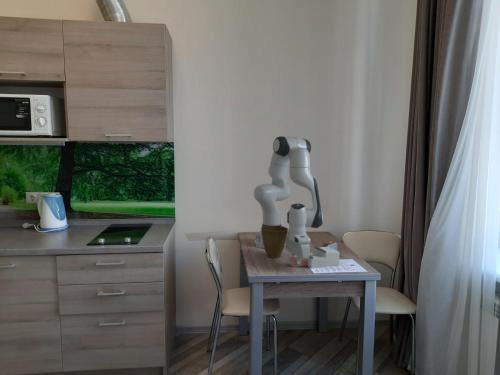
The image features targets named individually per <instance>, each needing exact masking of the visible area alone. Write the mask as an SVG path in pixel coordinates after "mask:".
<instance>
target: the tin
mask: <svg viewBox="0 0 500 375" xmlns="http://www.w3.org/2000/svg"><path fill="white" fill-rule="evenodd" d="M321 247H330V248H332V249H334V250H336V251H338V248H339V243H338V241H337V240H333V239H331V240H328V241H325V242H324V243H323V244H322V246H321Z"/></svg>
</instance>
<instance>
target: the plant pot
mask: <svg viewBox="0 0 500 375" xmlns="http://www.w3.org/2000/svg"><path fill="white" fill-rule="evenodd" d="M260 231H261V232H262V239H263V243H264V248H263V249H264V251H265V253H266V256H267V257H268V258H270V259H278V258H280V257H281V255H282V254H283V251H284V248H285V246H286V245H285V244H286V238H287V236H288V232H289V227H286V226H282V225H281V226H263V227H262V226H261V227H260ZM284 245H285V246H284Z"/></svg>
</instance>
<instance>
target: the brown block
mask: <svg viewBox="0 0 500 375" xmlns="http://www.w3.org/2000/svg"><path fill="white" fill-rule="evenodd" d="M312 256H315V255H312ZM296 260H297V257H293V256H292V257H291V262H290V263H291V264H290V266H291V267H292V268H296V267H305V266H306V267H308V259H301V260H300V264H297V263H296Z"/></svg>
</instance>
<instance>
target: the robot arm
mask: <svg viewBox="0 0 500 375" xmlns="http://www.w3.org/2000/svg"><path fill="white" fill-rule="evenodd" d="M272 150H273V154H272V155H271V159H270V163H269V167H268V172H267V174H268V175H269V177H270V178H271V183H264V184H259V185H256V186H255V188H254V189H253V197H254V200H255V201H257V202H258V204H259V205H260V208H261V210H262V223H261V227H263V226H282V212H281V210H280V209H279V208H277V206H276V202H280V201H281V202H282V201H284V200H286V199H288V198H289V197H290V195H291V189H290V186H289V185H288V183H287V175H288V174H289V178H290V180H291V182H293V183H294V184H295V185H298V186H299V187H302V188H305V189H306V190H308V191H309V192H310V195H311V201H312V208H306V205H305V204H302V203H292V204H291V205H290V207H289V210H288V211H287V215H286V217H287V219H286V222H287V224H288V225H289V226H288V232H287V237H286V242H285V245H284V247H285V249H286V250H287V251H288V252H290V253H291V255H292V257H297V260H296V263H297V264H300V260H301V259H308V258H309V255H310V252H311V246H310V244H311V238H310V237H309V235H308V234H307V228H312V229H313V228H314V229H319V228H320V227H321V226H323V225H324V224H323V223H324V214H323V210H322V206H321V205H322V204H321V198H320V193H319V188H318V182H317V180H316V178H315V177H313V175H312V173H311V172H312V171H311V158H310V157H311V155H310V153H311V150H312V145H311V142H310V141H309V140H308V139H306V138H300V137H296V136H284V135H283V136H277V137H276V138H275V139H274V141H273V144H272ZM288 170H289V171H288ZM288 172H289V173H288ZM255 238H256V239H254V241H253V242H254V245H255V246H256V248H258V249H259V248H260V249H265V248H264V243H263V239H262V232H261V230H260V231H259V232H258V233H257V234H256V235H255Z"/></svg>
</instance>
